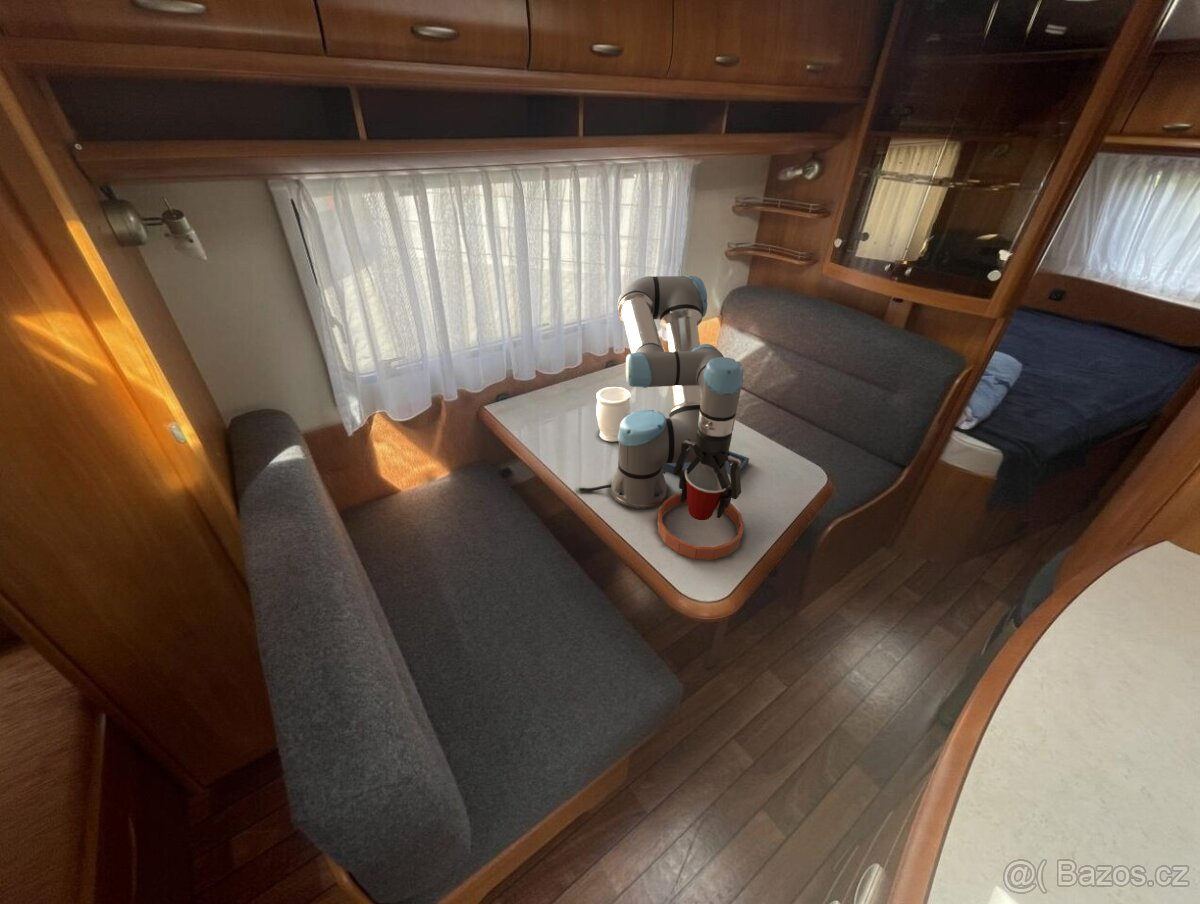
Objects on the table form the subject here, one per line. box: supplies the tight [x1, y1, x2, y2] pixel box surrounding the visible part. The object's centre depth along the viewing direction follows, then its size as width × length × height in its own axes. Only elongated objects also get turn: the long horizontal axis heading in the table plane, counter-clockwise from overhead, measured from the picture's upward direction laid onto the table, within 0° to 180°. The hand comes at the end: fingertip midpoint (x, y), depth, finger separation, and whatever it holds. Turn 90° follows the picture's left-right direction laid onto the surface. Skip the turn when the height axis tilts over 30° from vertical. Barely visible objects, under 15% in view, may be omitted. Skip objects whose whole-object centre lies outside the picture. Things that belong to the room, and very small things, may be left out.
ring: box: [656, 492, 745, 561], centre depth 119 cm, size 21×21×4 cm
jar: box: [595, 386, 631, 443], centre depth 151 cm, size 11×10×15 cm
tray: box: [662, 450, 750, 478], centre depth 141 cm, size 22×17×3 cm
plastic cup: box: [685, 462, 731, 522], centre depth 114 cm, size 11×11×12 cm
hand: (701, 507), depth 116 cm, fingers closed on plastic cup, 9 cm apart
